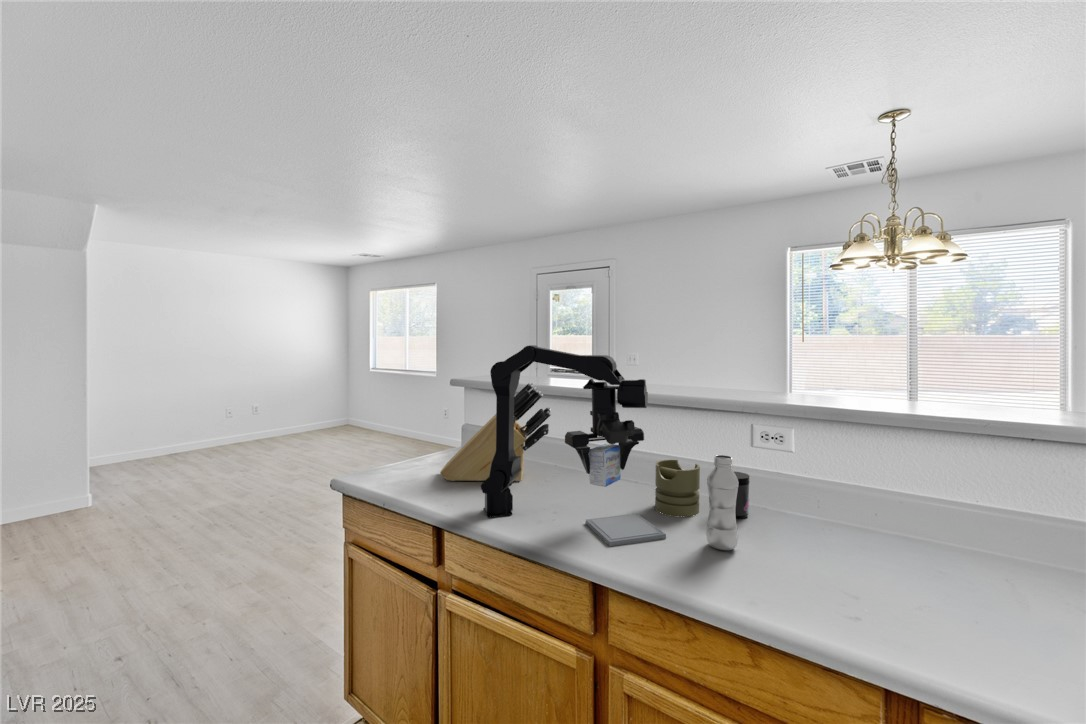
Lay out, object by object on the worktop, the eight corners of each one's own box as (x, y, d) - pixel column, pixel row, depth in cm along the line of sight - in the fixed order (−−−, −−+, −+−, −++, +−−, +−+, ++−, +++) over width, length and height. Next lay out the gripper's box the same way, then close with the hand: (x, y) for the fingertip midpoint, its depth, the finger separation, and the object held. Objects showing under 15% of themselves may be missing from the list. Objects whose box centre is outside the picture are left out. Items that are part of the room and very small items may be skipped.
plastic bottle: (723, 556, 105) (724, 462, 104) (699, 544, 111) (700, 455, 110) (744, 550, 108) (746, 458, 107) (720, 539, 114) (722, 452, 113)
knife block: (551, 482, 158) (551, 384, 156) (439, 482, 158) (438, 384, 157) (551, 472, 169) (551, 381, 167) (447, 472, 170) (446, 381, 168)
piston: (685, 473, 125) (647, 464, 133) (685, 520, 126) (646, 509, 134) (707, 464, 133) (670, 457, 141) (707, 509, 133) (669, 499, 142)
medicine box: (605, 487, 118) (605, 450, 117) (589, 484, 120) (588, 448, 120) (621, 479, 124) (620, 444, 124) (605, 477, 127) (604, 442, 126)
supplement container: (744, 521, 125) (745, 480, 124) (717, 515, 129) (717, 475, 128) (752, 513, 130) (753, 474, 130) (725, 508, 134) (726, 469, 134)
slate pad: (609, 546, 110) (609, 541, 110) (585, 523, 124) (585, 519, 124) (665, 538, 114) (666, 533, 114) (636, 517, 128) (636, 512, 128)
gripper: (580, 415, 111) (582, 484, 111) (655, 409, 116) (656, 475, 117) (563, 408, 121) (564, 472, 122) (632, 403, 127) (633, 464, 128)
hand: (605, 471), depth 122 cm, fingers closed on medicine box, 9 cm apart
